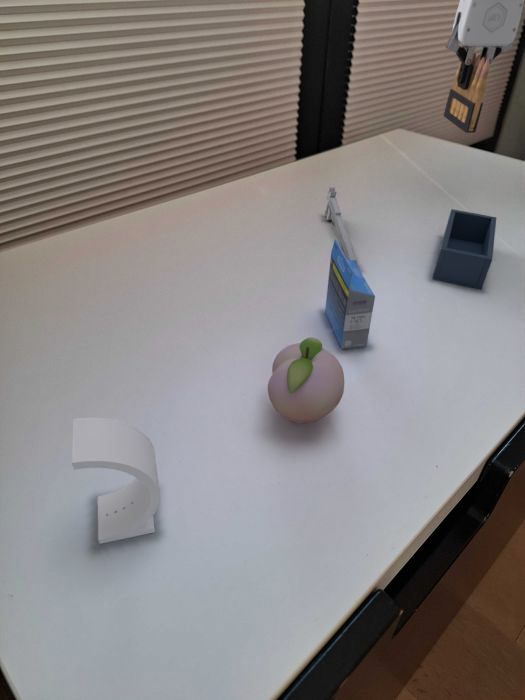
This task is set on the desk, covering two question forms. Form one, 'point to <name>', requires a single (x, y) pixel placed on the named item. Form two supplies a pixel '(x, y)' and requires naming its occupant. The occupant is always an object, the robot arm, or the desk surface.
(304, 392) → the decorative fruit
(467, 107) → the ammunition clip
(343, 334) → the label tape box
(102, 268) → the desk surface
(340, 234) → the caliper
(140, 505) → the headphone stand
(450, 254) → the desk tidy
